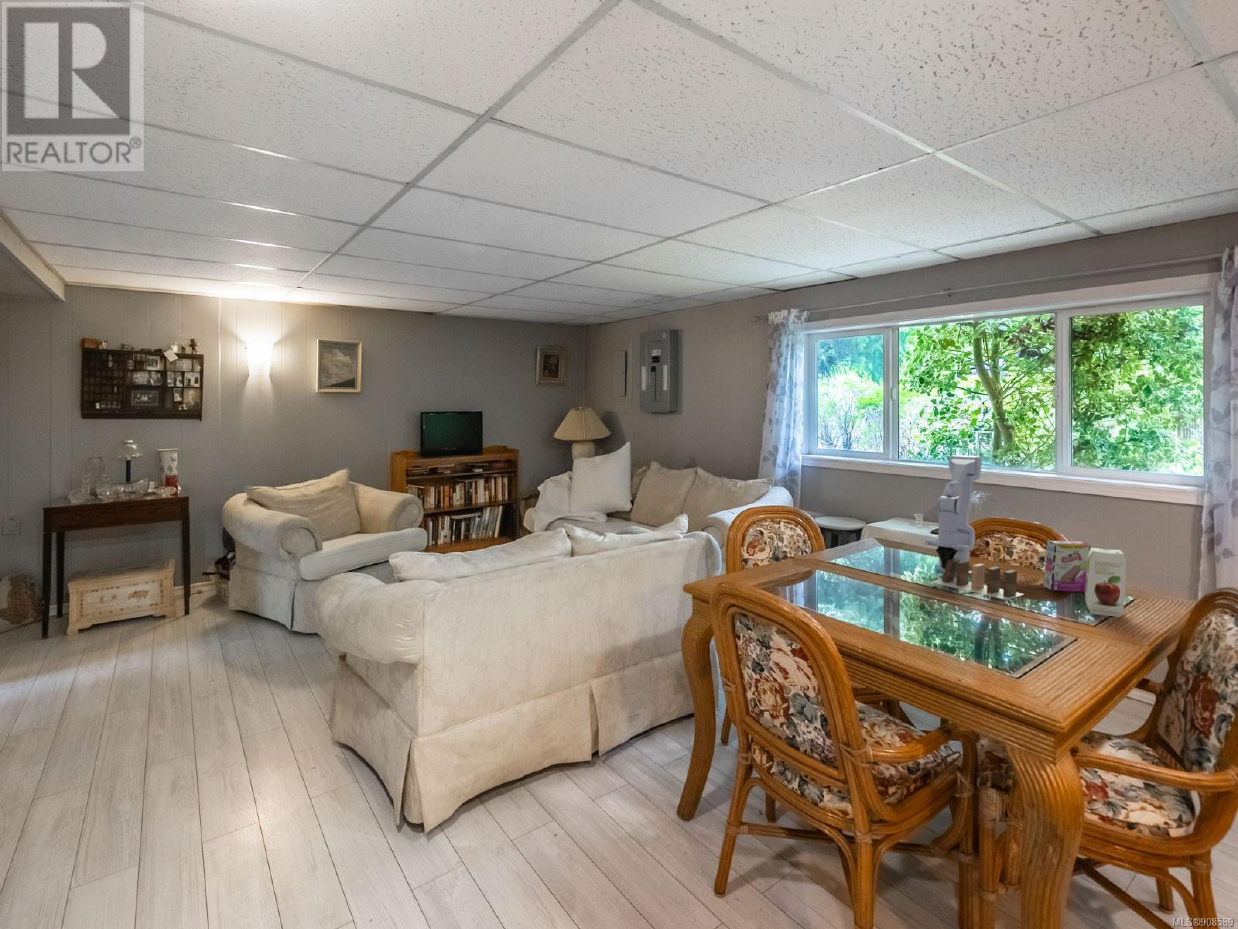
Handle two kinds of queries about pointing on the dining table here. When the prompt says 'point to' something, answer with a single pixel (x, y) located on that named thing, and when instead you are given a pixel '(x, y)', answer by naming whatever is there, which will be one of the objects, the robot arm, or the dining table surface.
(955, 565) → the domino
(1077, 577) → the candy bar box
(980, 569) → the domino
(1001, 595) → the board
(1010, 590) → the domino
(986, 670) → the dining table surface
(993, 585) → the domino
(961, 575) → the domino
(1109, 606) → the juice carton
